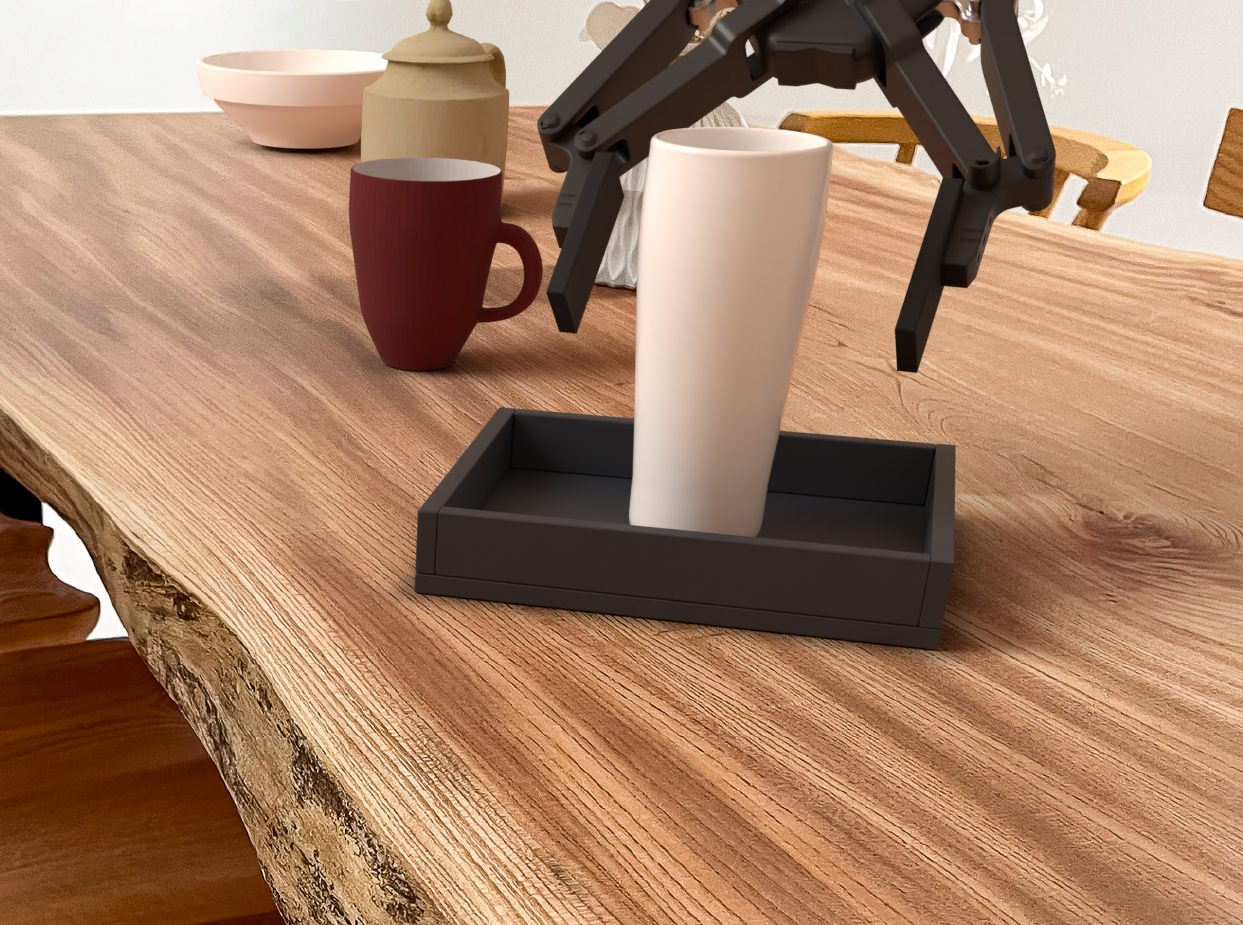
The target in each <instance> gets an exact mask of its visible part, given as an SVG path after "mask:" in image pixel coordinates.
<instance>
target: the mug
mask: <svg viewBox="0 0 1243 925" xmlns="http://www.w3.org/2000/svg"><path fill="white" fill-rule="evenodd" d="M348 193H349V194H348V196H349V197H348V223H349V234H350V241H351V249H352V256H353V263H354V272H355V279H356V285H357V293H358V301H359V306H360V311H361V312H360V313H361V315H362V319H363V322H364V324H365V326H366V329H367V331H368V335H369V336H370V338H371V341H372V343H373V345H374V348H375V349H376V351H377V353H378V355H379V358H380V360H381V362H382V363H383V364H385V365H387V367H392V368H395V369H399V370H406V371H435V370H442V369H446V368H448V367H450V366H452V365H453V364H454V363H455V362H456V360H457V358H459V355H460V353H461V352H462V350H463V348H464V347H465V345H466V343H467V342H468V339H469V338H470V336H471V334H472V332H474V329H475V328H476V326H477V324H479V323H481V324H484V323H485V324H487V323H495V322H502V321H507V320H509V319H512V318H514V317H516V316H519V315H520V314H522V313H523V312H524V311H526V310H527V309H528V308H530V306H531V305H532V304H533V302H534V301H535V299H536V298H537V296H538V293H539V291H540V289H541V286H542V281H543V274H544V267H543V259H542V255H541V251H540V249H539V247H538V244H537V243H536V241H535V239H534V238H533V236H532V235H531V234H530V233H529V232H528V231H527V230H526V229H524V228H523V227H522V226H520V225H517V224H515V223H511V222H503V221H502V208H501V200H502V170H501V169H500V168H499V167H497V166H494V165H491V164H487V163H482V162H477V161H470V160H461V159H448V158H391V159H380V160H372V161H366V162H362V163H361V162H358V163H355V164H353V165H352V166H351V167H350V174H349V192H348ZM502 201H503V200H502ZM497 244H503V245H507V246H510V247H512V249H514V251H516V252H517V254H518V256H519V257H520V260H521V262H522V267H523V281H522V286H521V289H520V292H519V294H518V295H517V297H516V298H515V299H514V300H513V301H512V302H510V303H508V304H506V305H503V306H496V307H484V299H485V294H486V289H487V284H488V279H489V275H490V272H491V266H492V262H493V259H494V255H495V251H496V248H497Z"/></svg>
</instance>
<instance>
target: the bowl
mask: <svg viewBox="0 0 1243 925" xmlns="http://www.w3.org/2000/svg"><path fill="white" fill-rule="evenodd" d="M383 54H384V53H383V52H374V51H365V50H350V49H349V50H348V49H347V50H345V49H322V48H319V49H317V48H290V49H289V48H287V49H285V48H284V49H283V48H282V49H281V48H280V49H279V48H278V49H256V50H255V49H254V50H239V51H229V52H222V53H214V54H209V55H206V56H202V57H200V58H198V60H197V61H196V68H197V69H196V70H197V78H198V82H199V83H198V84H199V87H200V91H201V94H202V95H203V96H205V97H207V98H209V99H213V101H214V103H215V104H216V105H217V106H218V107H219V108H220V109H221V110H222V111H223V112H224V113H225V114H226V115H227V116H228V117H230V118H231V120H233V121H234V122H235V123H237V125H238V126H240V127H241V128H242V129H243V130H244V131H245V132H246V133H247V135H248V136H249V139H251V141H252V142H253V143H255V144H257V145H259V146H267V147H274V148H283V149H331V148H339V147H345V146H351V145H354V144H356V143H358V142H359V140H360V139H361V133H362V111H363V94H364V89H365V87H367V86H369V85H371V84H374V83H375V82H376V81H377V80H378V79H379V78H380V77H381V76H382V74H383V73H384V71H385V69H386V66H387V62H388V60H385V59H382V57H381V56H382V55H383Z"/></svg>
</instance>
